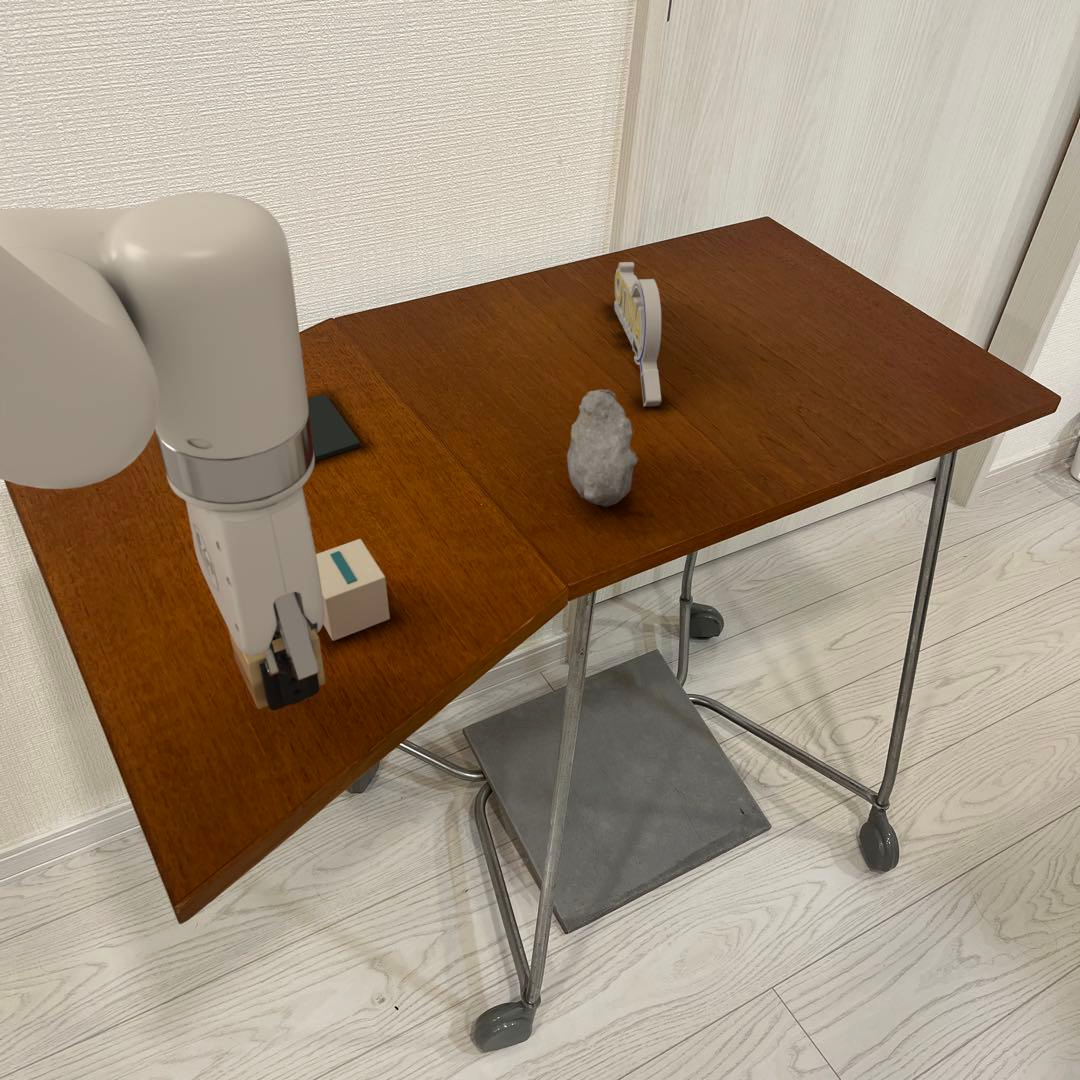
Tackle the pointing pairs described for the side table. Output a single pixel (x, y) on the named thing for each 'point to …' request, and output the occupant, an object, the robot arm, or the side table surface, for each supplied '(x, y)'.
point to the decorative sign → (641, 325)
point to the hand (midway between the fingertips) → (279, 668)
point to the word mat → (329, 429)
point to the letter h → (252, 663)
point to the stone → (601, 450)
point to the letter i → (351, 589)
